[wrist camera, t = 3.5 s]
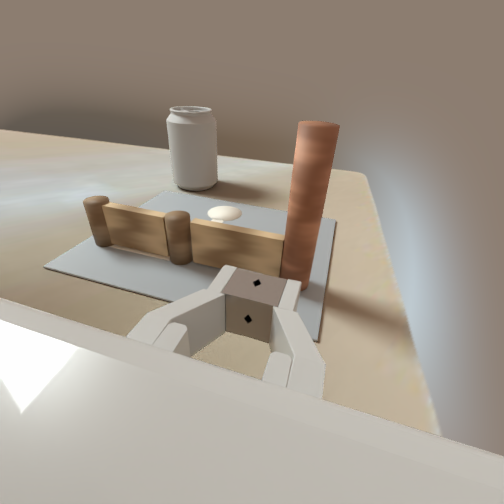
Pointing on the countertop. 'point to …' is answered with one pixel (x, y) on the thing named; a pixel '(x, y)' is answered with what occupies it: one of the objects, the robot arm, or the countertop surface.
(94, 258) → the card
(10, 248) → the countertop surface
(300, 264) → the rail
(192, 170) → the can
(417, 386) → the countertop surface
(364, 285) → the countertop surface
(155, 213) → the fixed rail
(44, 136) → the countertop surface
